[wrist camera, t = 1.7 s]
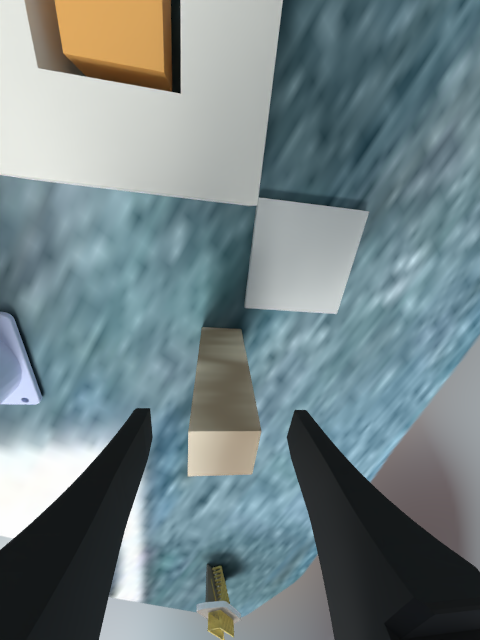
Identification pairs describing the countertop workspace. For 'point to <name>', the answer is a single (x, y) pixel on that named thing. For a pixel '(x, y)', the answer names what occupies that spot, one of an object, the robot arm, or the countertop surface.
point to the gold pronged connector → (218, 605)
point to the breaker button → (119, 40)
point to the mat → (301, 255)
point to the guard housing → (142, 107)
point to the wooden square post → (222, 408)
